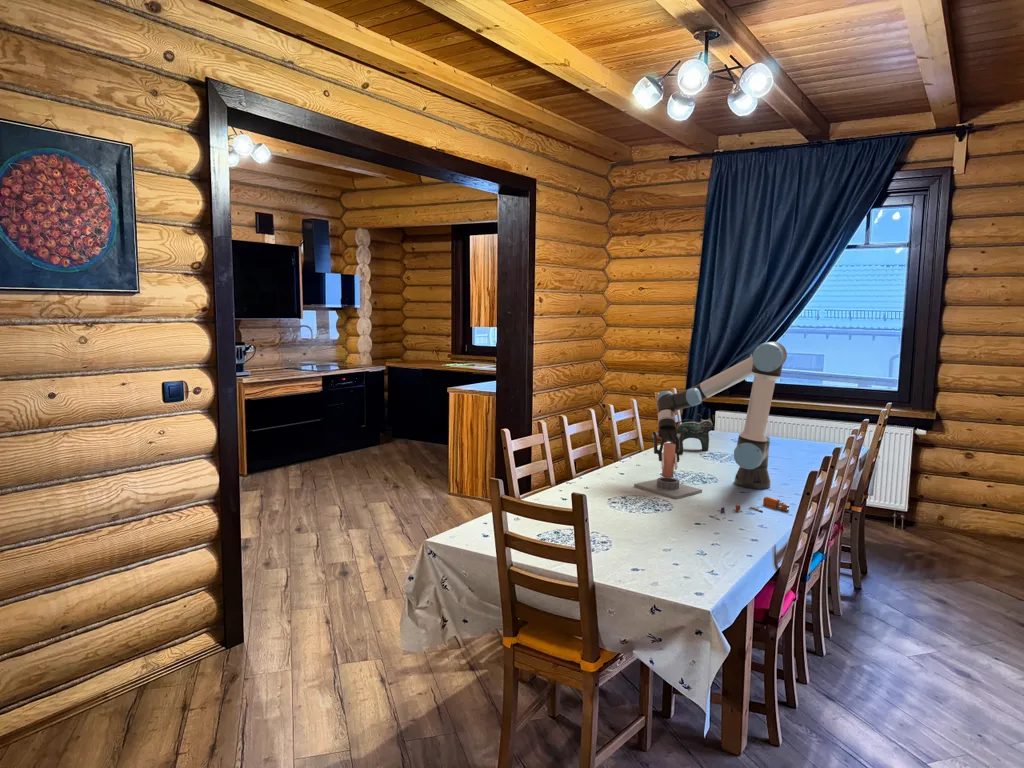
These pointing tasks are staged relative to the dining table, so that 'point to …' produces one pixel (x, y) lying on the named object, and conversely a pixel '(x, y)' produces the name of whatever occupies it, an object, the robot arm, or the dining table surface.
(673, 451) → the pink cylindrical peg
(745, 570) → the dining table surface
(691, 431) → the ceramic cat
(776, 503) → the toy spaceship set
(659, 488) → the cradle
